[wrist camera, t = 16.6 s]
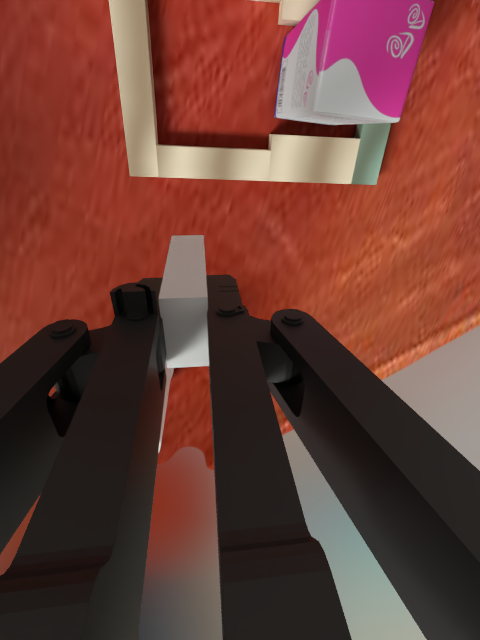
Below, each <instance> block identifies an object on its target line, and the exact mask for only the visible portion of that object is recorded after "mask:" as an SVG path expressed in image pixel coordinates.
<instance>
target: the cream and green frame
mask: <svg viewBox="0 0 480 640" xmlns="http://www.w3.org/2000/svg"><path fill="white" fill-rule="evenodd" d="M253 1H264V2H275V3H280V6H279V19H278V25H290V26H296V25H297V24H298V23H299V22H300V21H301V20H302V19H303V18H304V17H305V16H306V15H307V13H308V12H309V11H310V10H311V9H312V8H313V7H314V6H315V5H316V4H317V3H318V2H319V1H320V0H253ZM109 6H110V14H111V23H112V31H113V39H114V47H115V56H116V64H117V72H118V81H119V89H120V97H121V105H122V114H123V122H124V130H125V139H126V147H127V155H128V164H129V172H130V176H143V177H171V178H199V179H227V180H255V181H283V182H311V183H339V184H367V185H376V183H377V179H378V175H379V171H380V167H381V163H382V159H383V155H384V151H385V147H386V142H387V138H388V134H389V130H390V126H391V123H370V124H357V125H356V130H355V135H354V138H338V137H318V136H298V135H278V134H269V145H268V150H267V149H245V148H223V147H201V146H179V145H158V133H157V120H156V107H155V93H154V80H153V67H152V53H151V40H150V27H149V14H148V0H109Z"/></svg>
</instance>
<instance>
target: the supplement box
mask: <svg viewBox="0 0 480 640" xmlns="http://www.w3.org/2000/svg"><path fill="white" fill-rule="evenodd" d="M433 6H434V1H430V0H320V1H319V2H318V3H317V4H316V5H315V6H314V7H313V8H312V9H311V10H310V11H309V12H308V13H307V15H306V16H305V17H304V18H303V19H302V20H301V21H300V22H299V23H298V24H297V25H296V26H295V27H294V28H293V29H292V30H291V31H290V32H289V34H288V35H286V37H285V40H284V46H283V52H282V59H281V66H280V74H279V82H278V89H277V97H276V105H275V114H274V117H276V118H281V119H288V120H295V121H302V122H310V123H318V124H325V125H343V124H370V123H396V122H399V120H400V117H401V113H402V110H403V107H404V103H405V100H406V97H407V93H408V90H409V87H410V83H411V80H412V76H413V73H414V70H415V66H416V63H417V59H418V56H419V53H420V50H421V46H422V43H423V39H424V36H425V33H426V29H427V26H428V23H429V19H430V16H431V12H432V9H433Z"/></svg>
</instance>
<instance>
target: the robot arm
mask: <svg viewBox="0 0 480 640" xmlns="http://www.w3.org/2000/svg"><path fill="white" fill-rule="evenodd" d="M110 295H111V300H112V304H113V309H114V314H115V317H114V320H113V322H112V325H110V326H107V327H103V328H99V329H95V330H90V331H88V327H87V324H86V323H85V322H83V321H80V320H68V319H66V320H63V321H62V320H60V321H57V322H55V323H52V324H50V325H48V326H46V327H44V328H43V329H41V330H40V331H39V332H38V333H37V334H35V335H34V336H33V337H32V338H30V339H29V340H28V341H27V342H26V343H24V344H23V345H22V346H21V347H20V348H18V349H17V350H16V351H15V352H14V353H12V354H11V355H10V356H9V357H8V358H6V359H5V360H4V361H3V362H2V363H0V554H1V552H2V551H3V549H4V548H5V546H6V545H7V543H8V542H9V540H10V539H11V537H12V536H13V534H14V533H15V531H16V530H17V528H18V527H19V525H20V524H21V522H22V521H23V519H24V518H25V516H26V515H27V513H28V512H29V510H30V509H31V507H32V506H33V504H34V503H35V501H36V500H37V498H38V497H39V495H40V494H41V495H40V498H39V501H38V503H37V505H36V508H35V510H34V512H33V515H32V517H31V520H30V522H29V524H28V527H27V529H26V531H25V534H24V536H23V539H22V541H21V544H20V546H19V548H18V551H17V553H16V556H15V558H14V560H13V561H12V563H11V565H10V567H9V568H8V569H7V571H6V572H5V573H4V574H3V575H1V576H0V640H139V623H140V612H141V603H142V594H143V585H144V576H145V567H146V558H147V549H148V540H149V531H150V522H151V513H152V504H153V495H154V486H155V477H156V468H157V459H158V450H159V441H160V432H161V423H162V414H163V405H164V396H165V387H166V370H165V363H167V368H181V367H197V366H209V375H210V395H211V415H212V434H213V454H214V473H215V493H216V513H217V533H218V553H219V574H220V594H221V613H222V636H223V640H352V639H351V636H350V633H349V629H348V626H347V623H346V619H345V616H344V613H343V609H342V606H341V603H340V599H339V596H338V593H337V589H336V586H335V583H334V579H333V576H332V573H331V570H330V567H329V564H328V561H327V558H326V555H325V552H324V550H323V549H322V547H321V545H320V543H319V541H317V540H316V539H314V538H313V537H311V535H310V533H309V531H308V529H307V525H306V522H305V519H304V515H303V511H302V507H301V504H300V500H299V496H298V493H297V489H296V485H295V482H294V479H293V474H292V471H291V467H290V463H289V460H288V456H287V453H286V449H285V446H284V442H283V438H282V434H281V430H280V427H279V423H278V420H277V416H276V412H275V409H274V405H273V401H272V398H271V394H270V392H271V393H272V395H273V397H274V398H275V400H276V401H277V403H278V405H279V406H280V408H281V409H282V411H283V412H284V414H285V416H286V417H287V419H288V420H289V422H290V424H291V425H292V427H293V428H294V430H295V431H296V433H297V434H298V436H299V438H300V439H301V441H302V443H303V444H304V446H305V447H306V449H307V450H308V452H309V454H310V455H311V457H312V458H313V460H314V462H315V463H316V465H317V466H318V468H319V470H320V471H321V473H322V474H323V476H324V477H325V479H326V481H327V482H328V484H329V485H330V487H331V489H332V490H333V491H334V493H335V495H336V496H337V498H338V499H339V501H340V503H341V504H342V506H343V508H344V509H345V511H346V512H347V514H348V516H349V517H350V519H351V520H352V522H353V523H354V525H355V527H356V528H357V530H358V531H359V533H360V535H361V536H362V538H363V539H364V541H365V542H366V544H367V546H368V547H369V548H370V550H371V552H372V553H373V555H374V557H375V558H376V560H377V561H378V563H379V565H380V566H381V568H382V569H383V571H384V573H385V574H386V575H387V577H388V579H389V581H390V582H391V583H392V585H393V587H394V588H395V590H396V592H397V593H398V595H399V596H400V598H401V600H402V601H403V603H404V604H405V606H406V607H407V609H408V611H409V612H410V614H411V615H412V617H413V618H414V620H415V622H416V623H417V625H418V626H419V628H420V630H421V631H422V633H423V634H424V636H425V638H426V639H427V640H480V471H479V470H478V469H477V468H476V467H475V466H473V465H472V464H471V463H470V462H469V461H468V460H467V459H466V458H465V457H464V456H463V455H462V454H460V453H459V452H458V451H457V450H456V449H455V448H454V447H453V446H452V445H451V444H449V442H447V441H446V440H445V439H444V438H443V437H442V436H441V435H440V434H439V433H438V432H436V430H434V429H433V428H432V427H431V426H430V425H429V424H428V423H427V422H426V421H425V420H424V419H422V418H421V417H420V416H419V415H418V414H417V413H416V412H415V411H414V410H413V409H412V408H410V407H409V406H408V405H407V404H406V403H405V402H404V401H403V400H402V399H401V398H400V397H399V396H397V395H396V394H395V393H394V392H393V391H392V390H391V389H390V388H389V387H388V386H387V385H386V384H384V383H383V382H382V381H381V380H380V379H379V378H378V377H377V376H376V375H375V374H374V373H372V372H371V371H370V370H369V369H368V368H367V367H366V366H365V365H364V364H363V363H362V362H361V361H359V360H358V359H357V358H356V357H355V356H354V355H353V354H352V353H351V352H350V351H349V350H347V349H346V348H345V347H344V346H343V345H342V344H341V343H340V342H339V341H338V340H337V339H336V338H334V337H333V336H332V335H331V334H330V333H329V332H328V331H327V330H326V329H325V328H324V327H322V326H321V325H320V324H319V323H318V322H317V321H316V320H315V319H314V318H313V317H312V316H310V315H309V314H307V313H306V312H303V311H300V310H297V309H284V310H280V311H277V312H275V313H274V314H273V315H272V318H271V321H270V320H262V319H258V318H255V317H252V316H250V315H249V313H248V310H247V309H246V307H245V306H243V305H242V302H241V298H240V294H239V291H238V287H237V283H236V280H235V279H234V278H233V277H232V276H230V275H207V276H206V266H205V251H204V237H203V235H188V236H172V238H171V242H170V247H169V252H168V256H167V261H166V266H165V270H164V275H163V278H143V279H142V280H140V281H139V282H138V283H137V282H136V283H127V284H123V285H120V286H118V287H116V288H114V289H113V290H112V291H111V292H110ZM54 385H55V388H56V392H55V393H54V394H53V395H52V396H51V397H49V395H48V394H49V392H50V390H51V389H52V387H53V386H54ZM41 492H42V493H41Z"/></svg>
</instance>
